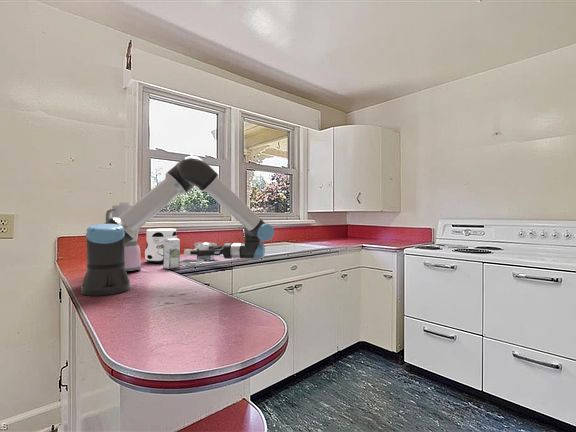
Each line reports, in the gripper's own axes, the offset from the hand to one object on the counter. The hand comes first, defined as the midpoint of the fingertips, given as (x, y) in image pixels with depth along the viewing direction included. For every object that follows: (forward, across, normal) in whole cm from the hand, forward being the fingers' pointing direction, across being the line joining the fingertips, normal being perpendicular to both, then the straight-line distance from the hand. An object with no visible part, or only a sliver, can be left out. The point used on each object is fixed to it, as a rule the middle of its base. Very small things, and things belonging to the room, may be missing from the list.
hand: (190, 250), depth 157 cm
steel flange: (+5, +11, -9) cm, 15 cm away
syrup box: (+10, 0, -9) cm, 13 cm away
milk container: (+24, +17, -9) cm, 31 cm away
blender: (+27, -13, -9) cm, 31 cm away
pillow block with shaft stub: (+2, +25, -9) cm, 26 cm away
